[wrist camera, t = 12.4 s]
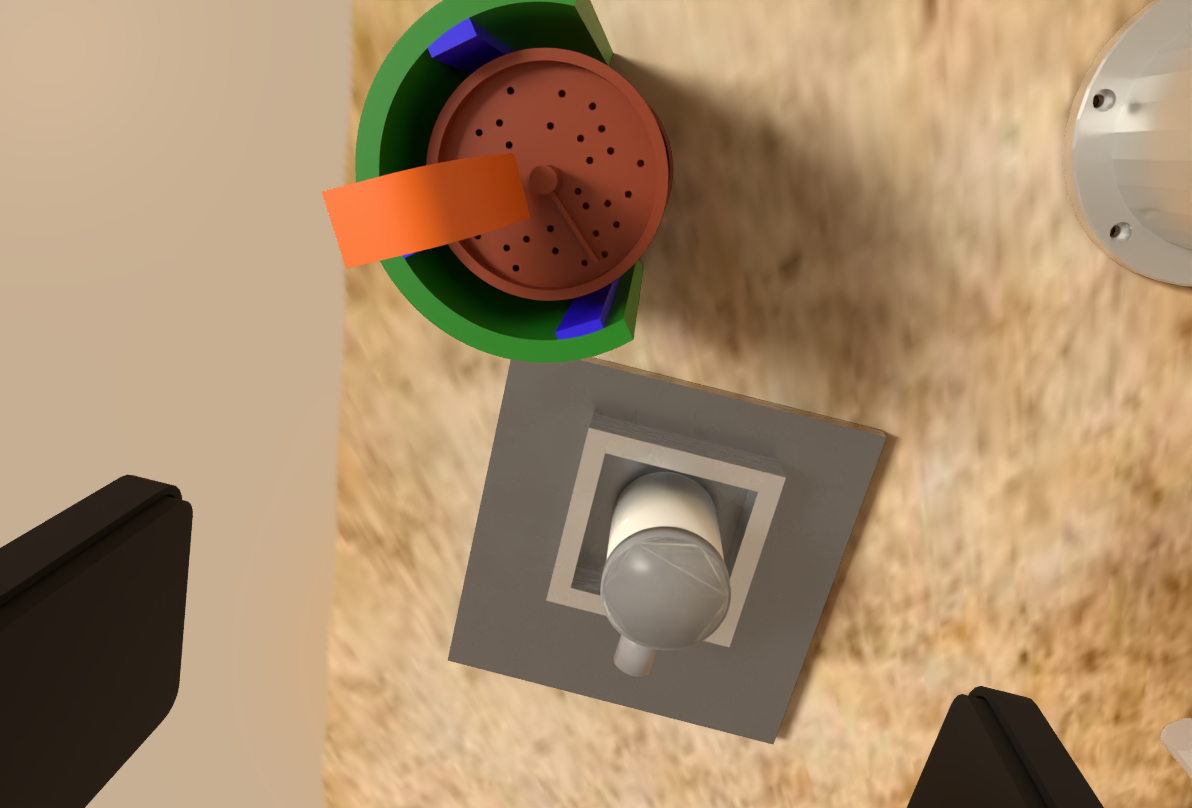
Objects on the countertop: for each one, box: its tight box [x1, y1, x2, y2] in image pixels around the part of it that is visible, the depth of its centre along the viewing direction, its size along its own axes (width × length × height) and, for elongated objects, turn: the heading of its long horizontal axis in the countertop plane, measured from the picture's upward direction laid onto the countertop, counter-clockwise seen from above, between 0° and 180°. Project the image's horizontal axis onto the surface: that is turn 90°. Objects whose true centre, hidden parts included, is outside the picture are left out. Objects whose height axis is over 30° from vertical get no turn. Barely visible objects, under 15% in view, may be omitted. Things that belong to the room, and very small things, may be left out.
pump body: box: [600, 472, 731, 677], centre depth 38 cm, size 5×8×7 cm
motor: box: [322, 0, 673, 363], centre depth 28 cm, size 10×9×20 cm
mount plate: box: [448, 357, 886, 744], centre depth 41 cm, size 18×18×3 cm
